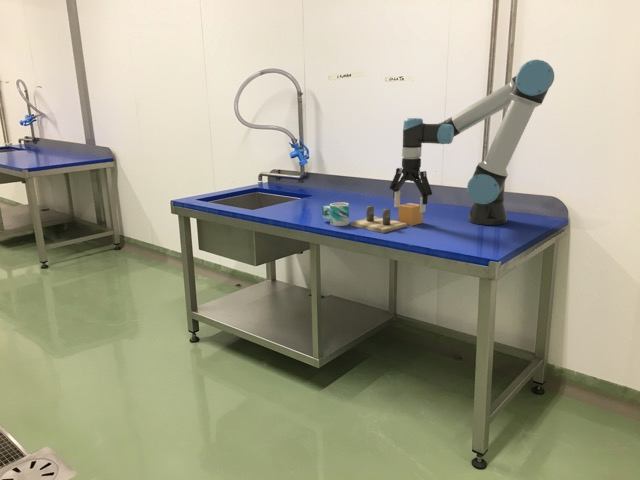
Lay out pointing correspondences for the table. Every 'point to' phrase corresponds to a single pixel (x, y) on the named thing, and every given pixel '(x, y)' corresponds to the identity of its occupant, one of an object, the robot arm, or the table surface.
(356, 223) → the board
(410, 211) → the wooden block
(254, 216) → the table surface
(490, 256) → the table surface
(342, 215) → the mug
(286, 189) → the table surface
